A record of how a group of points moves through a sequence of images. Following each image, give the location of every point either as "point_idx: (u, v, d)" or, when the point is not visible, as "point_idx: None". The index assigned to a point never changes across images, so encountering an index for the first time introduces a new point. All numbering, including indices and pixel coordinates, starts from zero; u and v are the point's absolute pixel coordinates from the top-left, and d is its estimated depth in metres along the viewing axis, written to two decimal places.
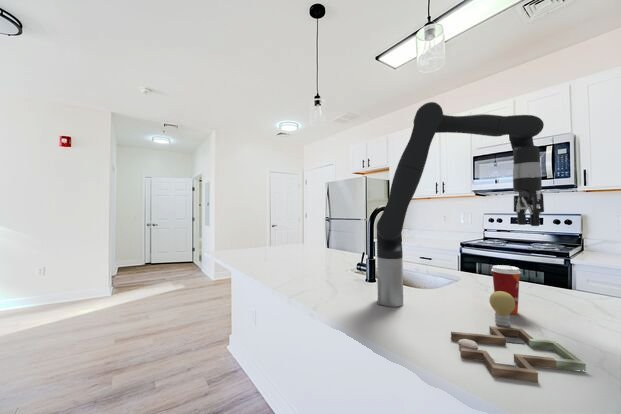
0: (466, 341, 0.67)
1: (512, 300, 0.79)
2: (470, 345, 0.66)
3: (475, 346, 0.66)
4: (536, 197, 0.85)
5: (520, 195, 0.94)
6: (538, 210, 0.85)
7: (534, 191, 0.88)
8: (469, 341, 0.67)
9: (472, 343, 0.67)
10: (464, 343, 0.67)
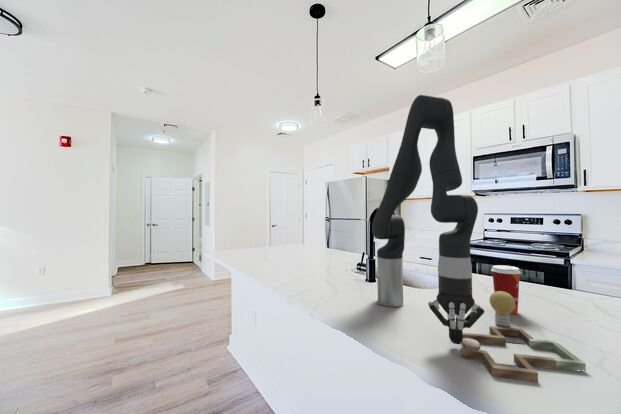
0: (468, 340, 0.67)
1: (512, 300, 0.79)
2: (472, 344, 0.66)
3: (477, 345, 0.66)
4: None
5: (447, 298, 0.68)
6: None
7: None
8: (471, 340, 0.67)
9: (474, 342, 0.67)
10: (466, 342, 0.67)
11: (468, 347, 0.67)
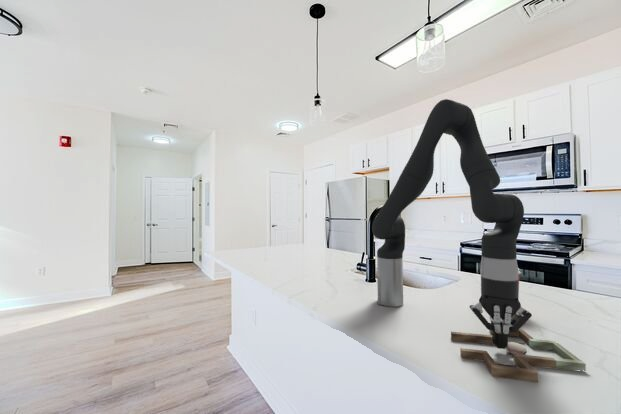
0: (514, 344, 0.65)
1: None
2: (519, 348, 0.64)
3: (524, 349, 0.64)
4: None
5: (491, 301, 0.66)
6: None
7: None
8: (517, 344, 0.65)
9: (521, 346, 0.64)
10: (513, 346, 0.65)
11: (514, 351, 0.65)
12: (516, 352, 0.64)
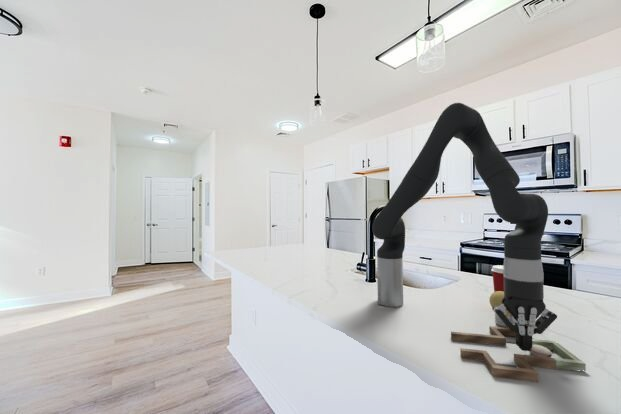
0: (539, 347, 0.64)
1: None
2: (544, 351, 0.63)
3: (550, 352, 0.63)
4: None
5: (515, 302, 0.65)
6: None
7: None
8: (541, 347, 0.64)
9: (546, 349, 0.63)
10: (537, 349, 0.64)
11: (539, 354, 0.64)
12: (541, 355, 0.63)
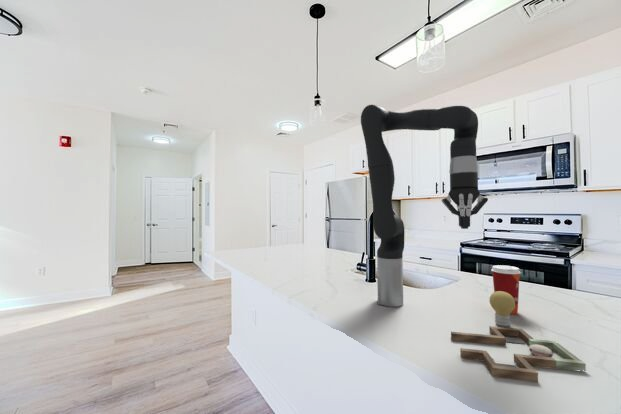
0: (540, 347, 0.64)
1: (512, 300, 0.79)
2: (545, 351, 0.63)
3: (551, 352, 0.63)
4: None
5: (457, 191, 0.84)
6: None
7: None
8: (542, 347, 0.64)
9: (547, 349, 0.64)
10: (538, 349, 0.64)
11: (540, 354, 0.64)
12: (542, 355, 0.63)
